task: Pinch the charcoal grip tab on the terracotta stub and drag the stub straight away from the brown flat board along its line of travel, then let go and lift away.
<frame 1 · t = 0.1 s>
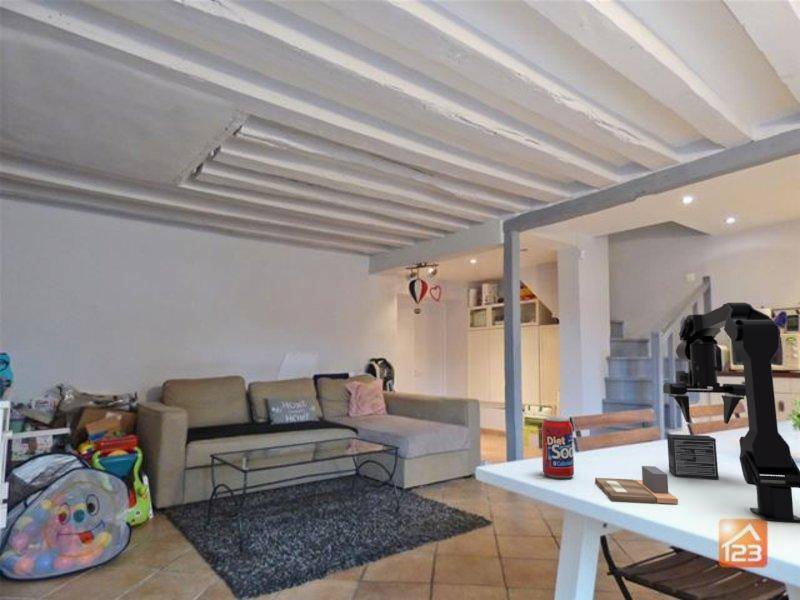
hand: (706, 422, 128), 15 cm above the table, fingers open, 9 cm apart
stub: (654, 481, 115), point 3 cm above the table, slide at 0.0 cm
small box: (693, 476, 133), on the table
brown flat board: (623, 492, 116), on the table
soda can: (558, 477, 131), on the table
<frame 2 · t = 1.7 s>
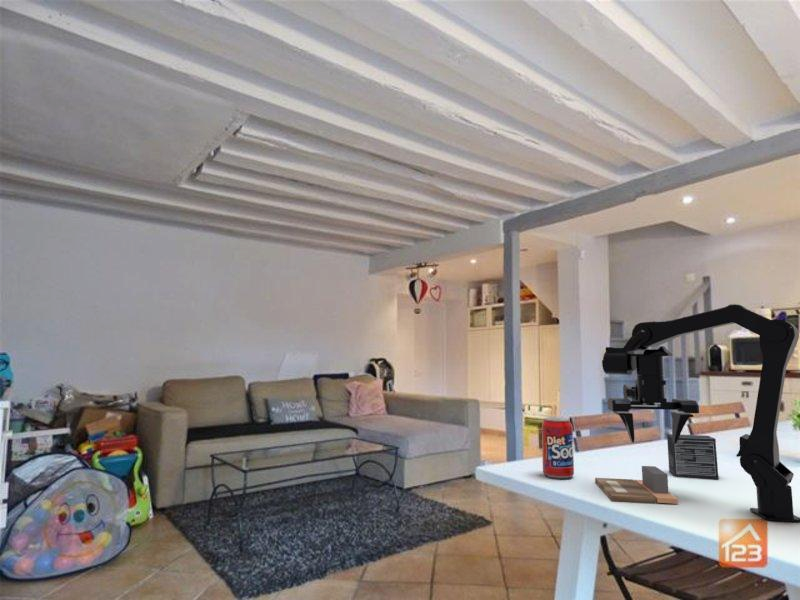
hand: (653, 442, 116), 12 cm above the table, fingers open, 9 cm apart
nothing on the table moved.
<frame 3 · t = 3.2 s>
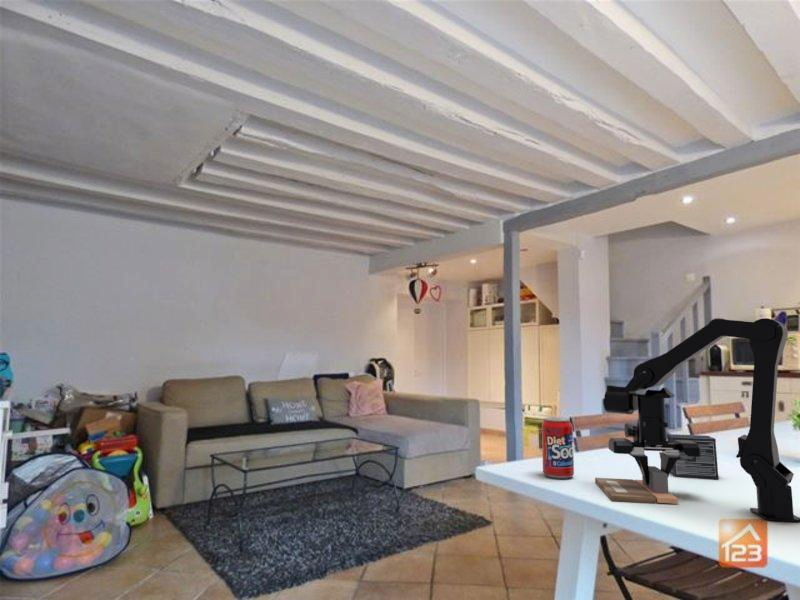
hand: (654, 484, 115), 2 cm above the table, fingers closed on stub, 3 cm apart
stub: (654, 481, 115), point 3 cm above the table, slide at 0.0 cm, touching gripper
everything else where it was.
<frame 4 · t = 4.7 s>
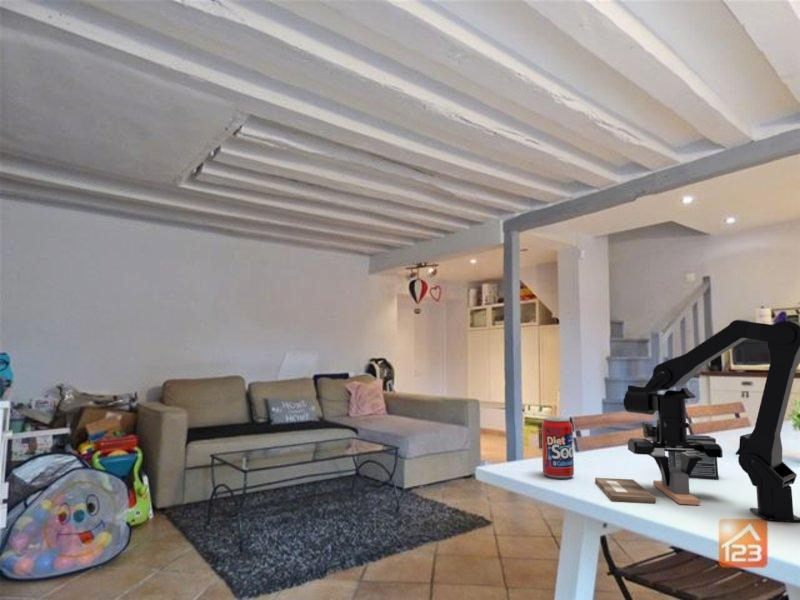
hand: (675, 485, 114), 2 cm above the table, fingers closed on stub, 3 cm apart
stub: (674, 482, 114), point 3 cm above the table, slide at 4.4 cm, touching gripper
everything else where it was.
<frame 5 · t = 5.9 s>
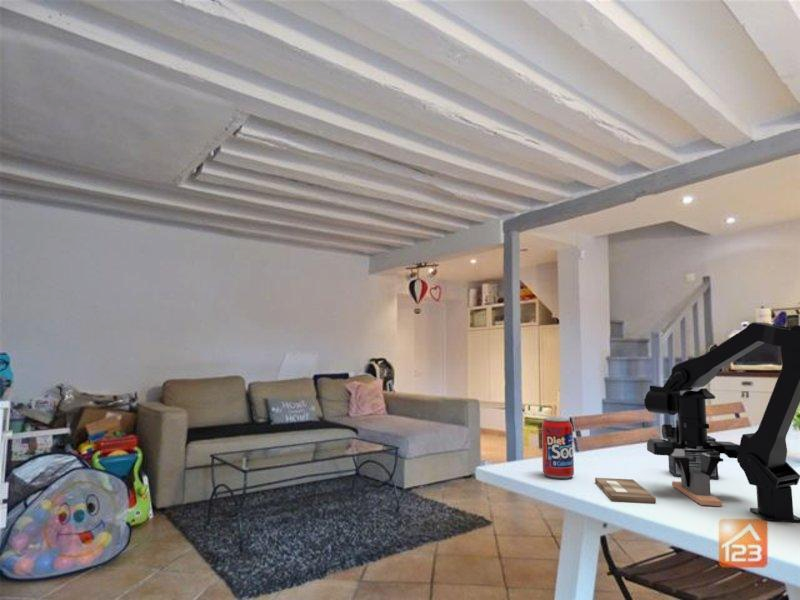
hand: (695, 486, 114), 2 cm above the table, fingers closed on stub, 3 cm apart
stub: (694, 483, 114), point 3 cm above the table, slide at 8.7 cm, touching gripper
everything else where it was.
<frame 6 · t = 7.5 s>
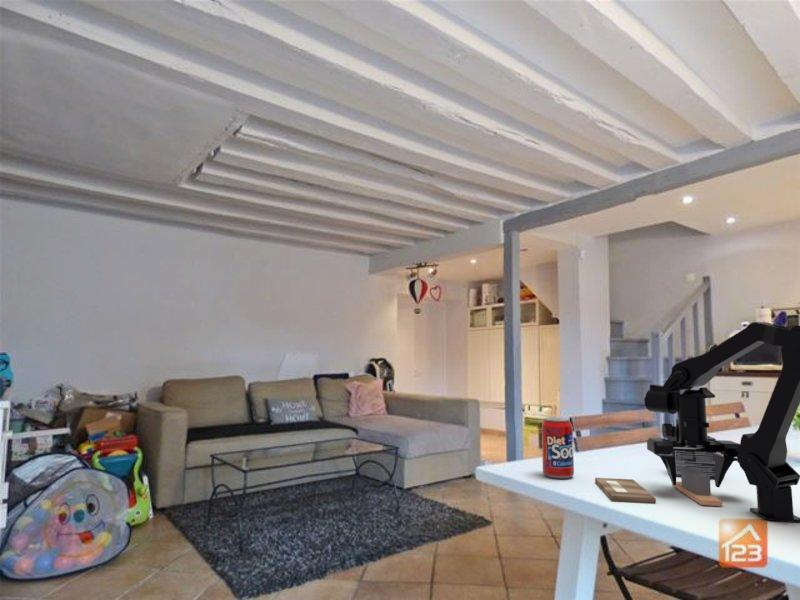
hand: (695, 485, 114), 2 cm above the table, fingers open, 9 cm apart
stub: (694, 483, 114), point 3 cm above the table, slide at 8.7 cm
everything else where it was.
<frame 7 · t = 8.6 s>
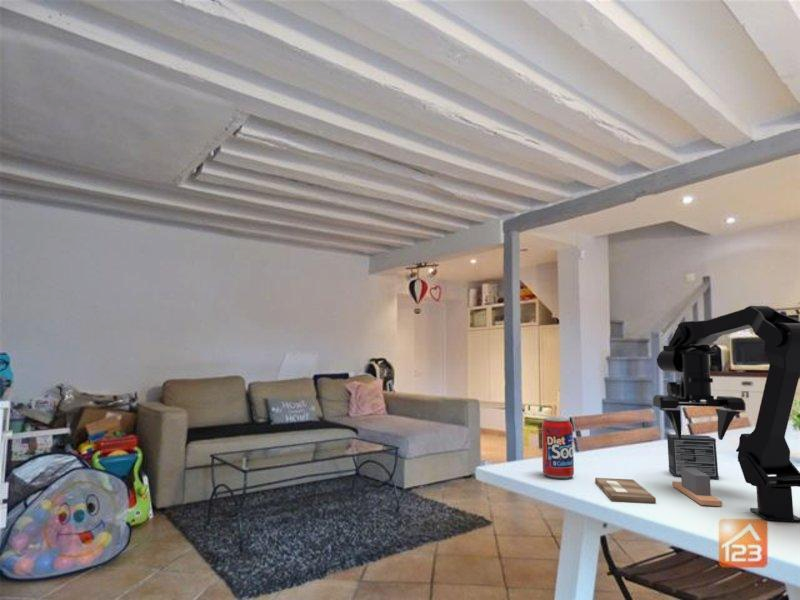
hand: (699, 438, 119), 12 cm above the table, fingers open, 9 cm apart
nothing on the table moved.
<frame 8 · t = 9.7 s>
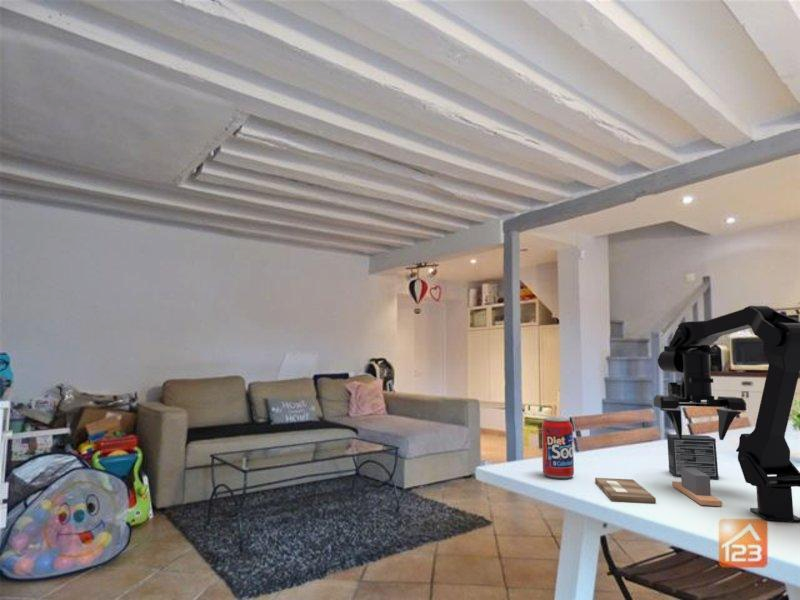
hand: (700, 439, 119), 12 cm above the table, fingers open, 9 cm apart
nothing on the table moved.
at the end: stub slide at 8.7 cm; the gripper is holding nothing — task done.
